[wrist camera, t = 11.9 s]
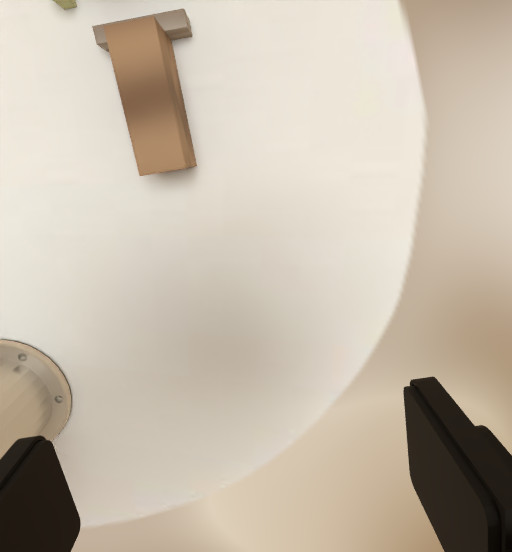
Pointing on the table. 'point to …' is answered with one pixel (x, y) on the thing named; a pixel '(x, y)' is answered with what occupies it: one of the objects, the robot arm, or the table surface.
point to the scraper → (151, 88)
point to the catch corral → (66, 3)
